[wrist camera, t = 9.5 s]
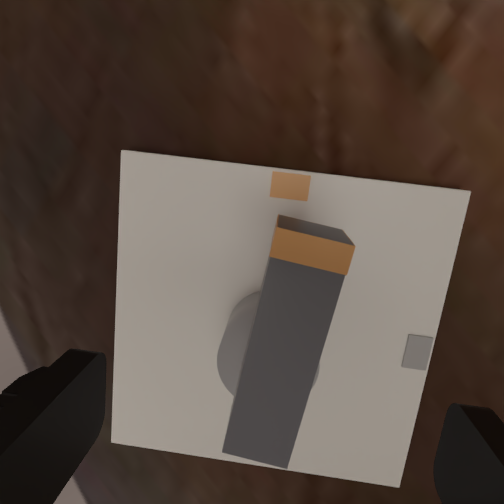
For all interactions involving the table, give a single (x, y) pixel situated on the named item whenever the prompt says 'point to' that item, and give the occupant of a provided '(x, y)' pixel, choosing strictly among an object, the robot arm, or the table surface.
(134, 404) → the base
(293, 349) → the handle
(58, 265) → the table surface
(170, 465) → the table surface
